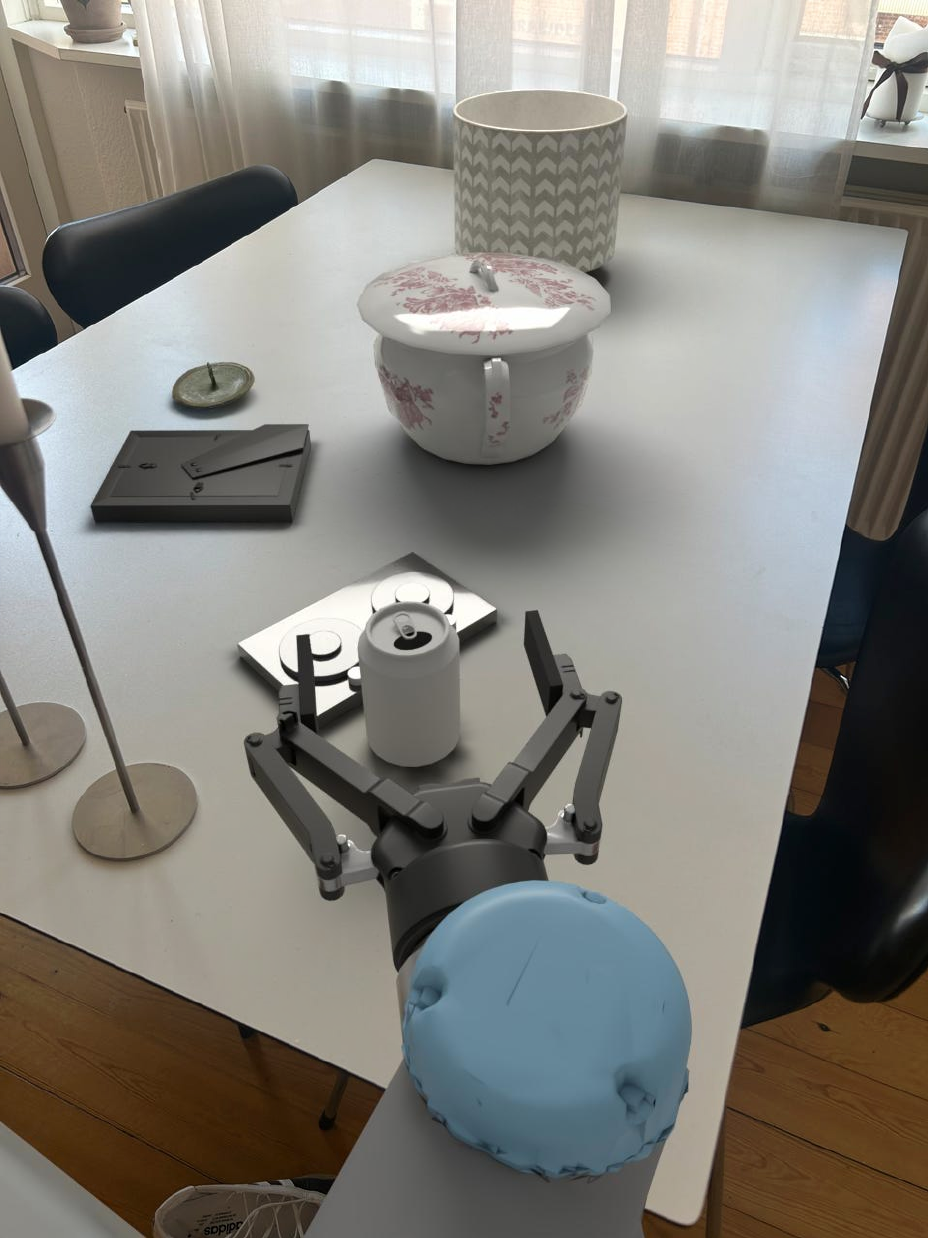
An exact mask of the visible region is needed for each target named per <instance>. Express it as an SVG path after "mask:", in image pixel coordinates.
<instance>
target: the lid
mask: <svg viewBox="0 0 928 1238" xmlns="http://www.w3.org/2000/svg"><path fill="white" fill-rule="evenodd" d="M254 383H255V375H254V372H253V371H252V370H251V369H250V368H248V367H247V366H245V365H243V364H241V363H237V362H234V361H233V362H232V361H219V362H212V363H210V362H209V361H208V362H206V364H203V365H200V366H196V367H193V368H190V369H188V370H187V371H185V372H184V373H182V374H181V375H180V376H179V377H178V378H177V379H176V380H175V383H174V384H173V386H172V391H171V397H172V399H173V401H174V402H175V403H176V404H178V405H181V406H183V407H185V408H193V409H212V408H217V407H221V406H225V405H228V404H230V403H232V402H235V401H236V400H238V399H240V398H241V397H243V396H244V395H245V394H246V393H248V392H249V391H250V390H251V388H252V387H253V386H254Z"/></svg>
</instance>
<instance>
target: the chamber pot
mask: <svg viewBox="0 0 928 1238" xmlns="http://www.w3.org/2000/svg"><path fill="white" fill-rule="evenodd" d="M611 301H612V300H611V295H610V293H609V292H608V291H607V290H606V289H605V288H604V287H603V286H602V284H601V283H600V282H599V281H598V280H597V279H596V278H595V277H593V276H591V275H589V274H588V273H587V272H585V273H584V272H582V271H580V270H578V269H576V268H574V267H572V266H568V265H565V264H562V263H558V262H555V261H551V260H548V259H545V258H538V257H531V256H524V255H517V254H511V253H464V254H456V253H455V254H443V255H437V256H432V257H428V258H423V259H418V260H413V261H409V262H406V263H404V264H401V265H398V266H396V267H394V268H391V269H388V270H385V271H383V272H382V273H381V274H379V275H377V276H376V277H375V278H374V279H373V280H371V281H370V282H369V283H367V284H366V285H365V286H364V287H363V289H362V291H361V293H360V295H359V297H358V300H357V302H356V306H357V307H356V308H357V309H358V312H359V315H360V318H361V321H363V322H364V323H365V324H366V325H368V326H369V327H371V328H372V329H373V330H374V331H375V332H376V333H377V334H376V337H375V340H374V342H373V358H374V367H375V370H376V374H377V377H378V378H377V379H378V381H379V384H380V388H381V392H382V396H383V398H384V400H385V401H384V402H385V404H386V406H387V409H388V412H389V413H390V414H391V415H392V416H393V418H394V419H395V421H396V422H397V423H398V424H399V425H400V427H401V429H403V431H404V432H405V433H406V434H407V436H408V437H409V438H410V439H412V441H414V442H415V444H417V445H418V446H419V447H420V448H422V449H423V450H424V451H425V452H428V453H429V454H432V455H434V456H437V457H438V458H440V459H443V460H446V461H447V460H448V461H451V462H455V463H461V464H465V465H484V466H485V465H489V466H490V465H499V464H506V463H513V462H516V461H520V460H522V459H525V458H529V457H532V456H534V455H535V454H537V453H539V452H540V451H542V450H543V449H545V448H546V447H548V446H549V445H550V444H552V443H554V441H555V440H556V439H557V437H558V436H559V435H560V433H562V431H563V430H564V428H566V426H567V425H568V424H569V422H570V421H572V419H573V417H574V416H575V415H576V413H577V412H578V410H579V409H580V407H581V406H582V405H583V402H584V399H585V396H586V393H587V389H588V386H589V383H590V380H591V376H592V374H593V373H592V372H593V361H594V336H593V334H592V332H594V331H596V330H597V329H600V327H601V326H602V324H603V323H604V322H605V320H606V319H607V318H608V317H609V315H610V314H611V313H612V304H611V303H612V302H611Z"/></svg>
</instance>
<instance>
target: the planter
mask: <svg viewBox="0 0 928 1238" xmlns="http://www.w3.org/2000/svg"><path fill="white" fill-rule="evenodd" d="M627 120H628V108H627V107H626V105H625V104H624V103H622V102H621V101H619V100H617V99H614V98H612V97H609V96H605V95H601V94H596V93H592V92H586V91H581V90H580V91H579V90H570V89H556V88H521V89H508V90H498V91H492V92H486V93H481V94H476V95H473V96H470V97H467V98H464V99H462V100H460V101H458V102H457V103H456V104H455V105H454V107H453V110H452V127H453V128H452V135H453V136H452V142H453V144H452V145H453V204H454V205H453V206H454V207H453V208H454V213H453V215H454V217H453V219H454V252H455V254H464V253H511V254H517V255H524V256H531V257H538V258H545V259H548V260H551V261H555V262H558V263H562V264H565V265H568V266H572V267H574V268H576V269H578V270H580V271H582V272H584V273H587V272H591V271H595V270H596V269H598V268H601V267H603V266H605V265H606V264H607V263H609V262H610V261H611V260H612V259H613V257H614V255H615V253H616V242H617V233H618V232H617V230H618V220H619V209H620V199H621V188H622V178H623V177H622V175H623V167H624V165H623V164H624V154H625V143H626V133H627V122H628V121H627Z"/></svg>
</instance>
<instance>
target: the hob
mask: <svg viewBox="0 0 928 1238" xmlns="http://www.w3.org/2000/svg"><path fill="white" fill-rule="evenodd" d="M404 601H413V602H421V603H425V604H430V605H432V606H434V607H436V608H438V609H439V610H441V611H442V612H443V613H444V614H445V615H446V616H447V618H448V620H449V623H450V625H451V626H452V627H453V628H454V629H455V630H456V633H457V635H458V638H459V645H460V644H462V643H464V642H465V641H467V640H469V639H470V638H472V637H473V636H475V635H477V634H478V633H480V632H482V631H483V630H485V629H486V628H488V627H490V626H492V625H493V624H495V623H496V622H498V608H496V607H495V606H494V605H492V604H491V603H489V602H487V600H484V599H483V598H482V597H480V596H479V595H477V594H476V593H474V592H473V591H472V590H470V589H468V588H467V587H466V586H464V585H463V584H461V583H460V582H458V581H457V580H455V579H453V577H450V576H449V575H448V574H447V573H445V572H444V571H442V570H441V569H439V568H438V567H436V566H435V565H433V564H432V563H430V562H429V561H427V560H426V559H424V558H423V557H421V556H420V555H418V554H417V553H415V552H414V551H411V552H409V553H408V554H407V553H406V555H404V556H401V557H399V558H398V559H395V560H394V561H392V562H390V563H388V564H386V565H384V566H383V567H381V568H379V569H377V570H375V571H373V572H371V573H369V574H367V575H365V576H363V577H362V578H360V579H358V580H356V581H354V582H351V583H350V584H348V585H346V586H344V587H342V588H340V589H338V590H337V591H335V592H333V593H331V594H329V595H327V596H325V597H323V598H321V599H319V600H317V601H315V602H314V603H312V604H309V605H308V606H306V607H304V608H302V609H301V610H298V611H296V612H295V613H293V614H291V615H289V616H287V617H285V618H283V619H281V620H279V621H277V622H276V623H274V624H272V625H269V626H268V627H265V628H264V629H262V630H260V631H258V632H256V633H255V634H252V635H251V636H249V637H247V638H244V639H243V640H241V641H239V642H237V644H236V645H237V649H238V650H237V651H238V654H239V657H240V658H242V660H243V661H244V662H245V663H246V664H248V665H249V666H250V667H251V668H252V669H253V670H254V671H255V672H256V673H257V674H258V675H260V676H261V677H262V678H263V679H264V680H265V681H266V682H267V683H268V684H270V685H271V686H272V687H273V689H275V690H276V691H277V692H278V693H279V691H280V689H281V687H282V685H291V684H298V662H297V639H296V635H304V634H309V635H310V643H311V650H312V657H313V664H314V676H315V692H316V708H317V724H318V730H320V729H322V728H324V727H325V726H326V725H328V724H330V723H332V722H333V721H335V720H336V719H338V718H340V717H341V716H343V715H344V714H347V713H348V712H350V711H351V710H353V709H354V708H356V707H358V706H360V705H361V704H363V696H362V686H361V677H360V667H359V658H358V649H357V646H358V641H359V637H360V635H361V634H362V632H363V631H364V629H365V626H366V622H367V621H368V620H369V618H370V617H371V615H372V614H374V613H375V612H376V611H378V610H379V609H381V608H383V607H385V606H388V605H390V604H393V603H398V602H404Z"/></svg>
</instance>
